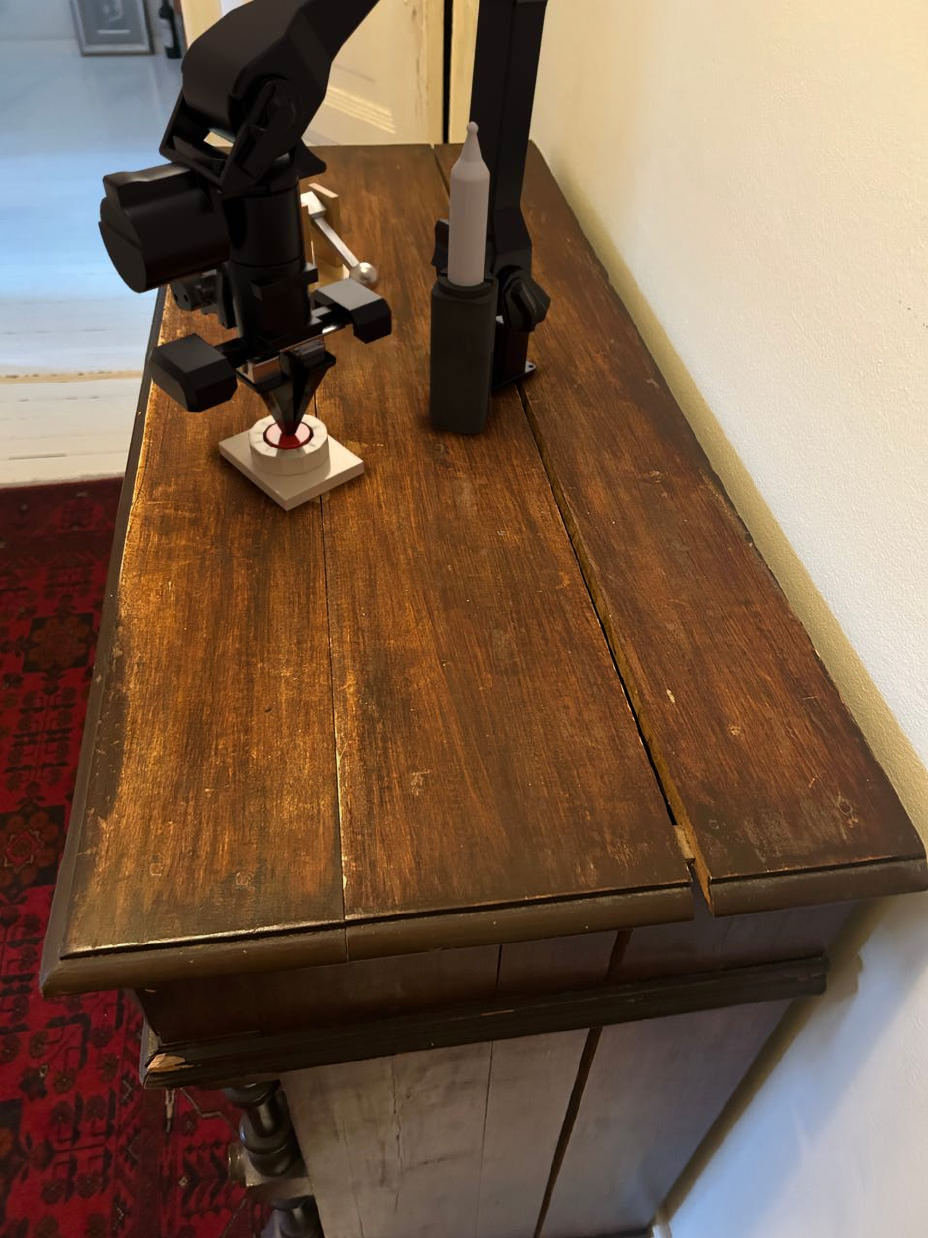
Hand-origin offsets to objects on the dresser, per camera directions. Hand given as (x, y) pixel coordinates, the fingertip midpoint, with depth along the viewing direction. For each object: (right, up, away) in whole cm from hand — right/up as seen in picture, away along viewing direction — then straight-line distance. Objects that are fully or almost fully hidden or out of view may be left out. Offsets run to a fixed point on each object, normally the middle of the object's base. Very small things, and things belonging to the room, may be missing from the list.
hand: (288, 432), depth 73 cm
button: (0, -1, +1) cm, 2 cm away
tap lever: (+1, +24, +21) cm, 32 cm away
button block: (0, -2, +2) cm, 3 cm away
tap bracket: (-2, +23, +26) cm, 35 cm away
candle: (+14, +3, +8) cm, 17 cm away
